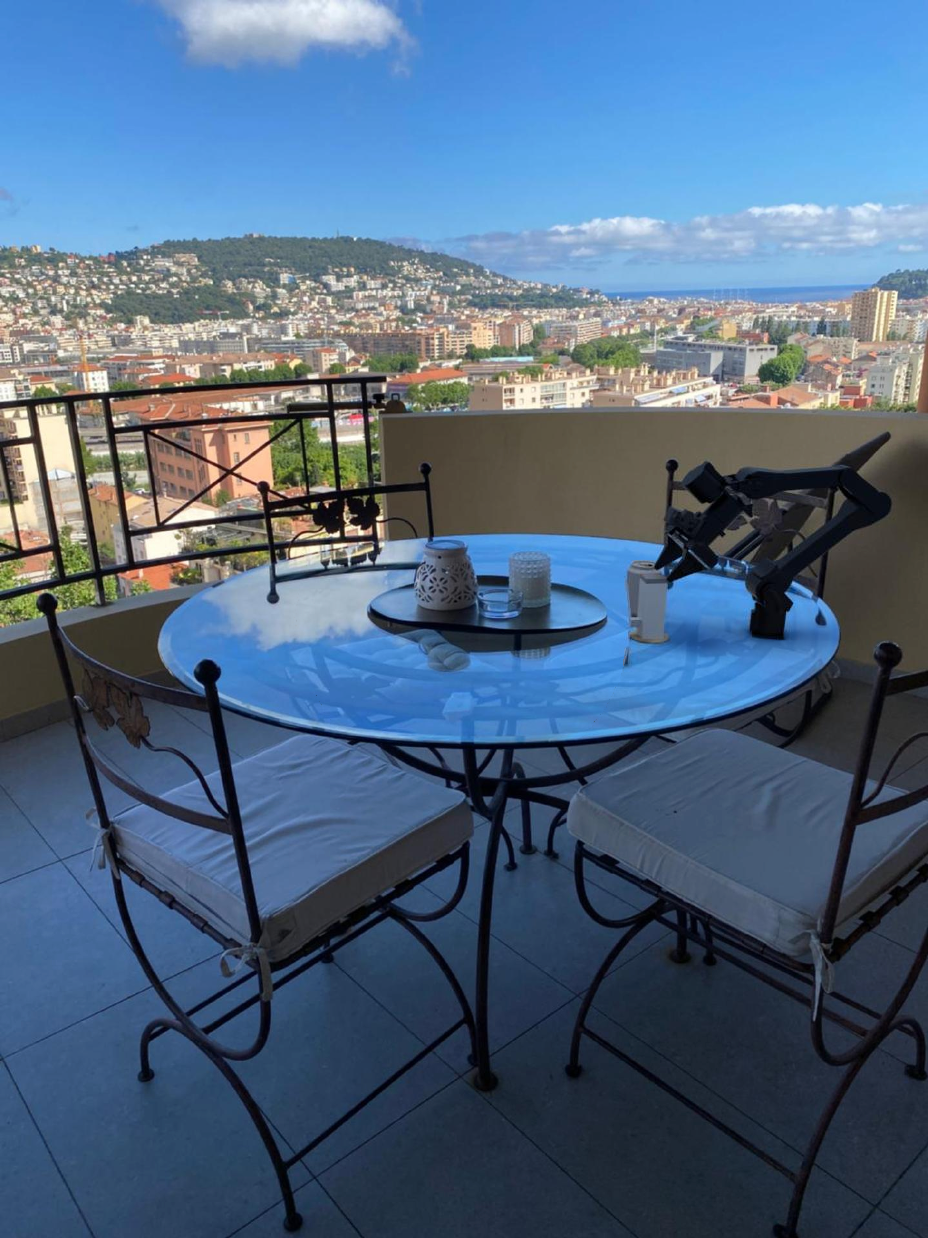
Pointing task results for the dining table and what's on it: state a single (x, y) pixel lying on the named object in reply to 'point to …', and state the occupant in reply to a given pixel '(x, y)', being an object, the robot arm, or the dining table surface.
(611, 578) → the dining table surface
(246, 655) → the dining table surface
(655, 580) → the adapter
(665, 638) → the coaster
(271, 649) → the dining table surface
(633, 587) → the can
